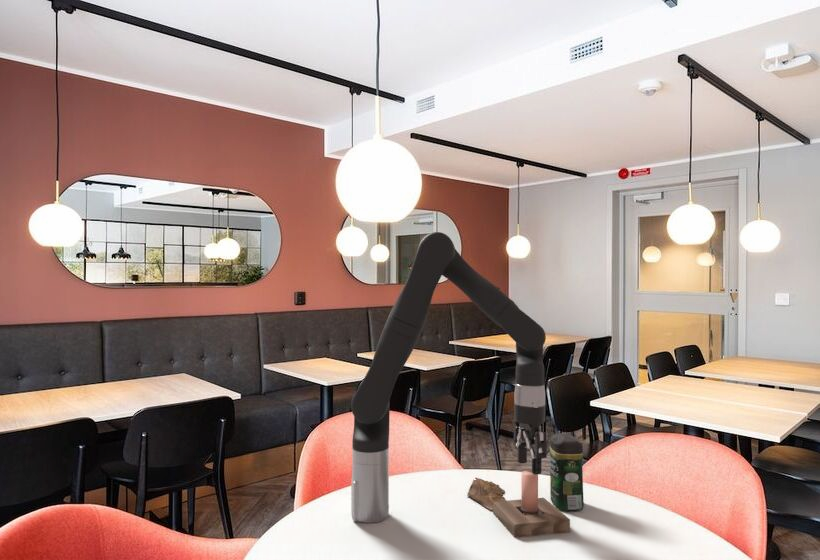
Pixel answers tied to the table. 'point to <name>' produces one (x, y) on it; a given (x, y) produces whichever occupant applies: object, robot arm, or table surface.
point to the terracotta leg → (529, 493)
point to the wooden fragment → (485, 493)
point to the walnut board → (531, 518)
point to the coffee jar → (566, 472)
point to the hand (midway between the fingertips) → (529, 468)
